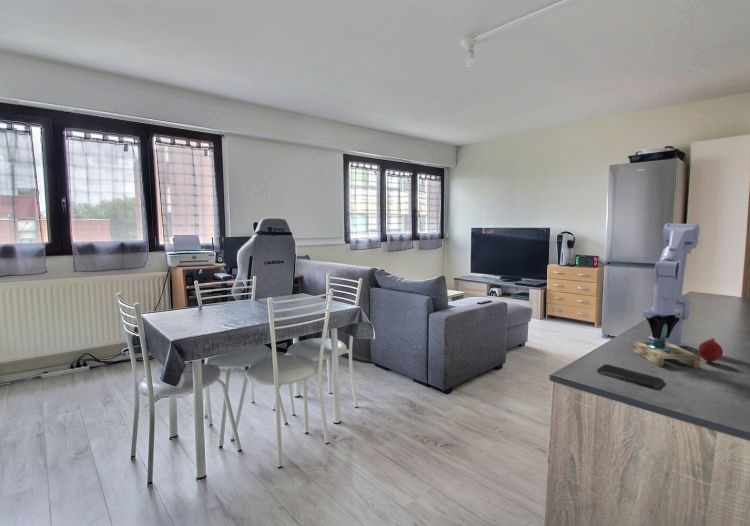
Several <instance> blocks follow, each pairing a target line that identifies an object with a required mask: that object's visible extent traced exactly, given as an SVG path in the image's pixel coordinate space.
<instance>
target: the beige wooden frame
mask: <svg viewBox="0 0 750 526" xmlns="http://www.w3.org/2000/svg"><path fill="white" fill-rule="evenodd" d="M653 342H654V341H642V340H641V341H640V340H632V344H631V352H633V351H634V352H633V353H635V354H636V353H637V355H638V354H639V355H638V356H640V355H641V356H640V357H642V358H643V357H644V358H643V359H645V358H646V359H645V360H647V359H648V360H649V361H648V360H647V361H648V362H650V361H651V362H650V363H652V362H653V363H652V364H654V365H655V364H656V365H655V366H657V365H658V366H657V367H664V363H665V360H667V359H669V360H678V361H680V362H682V363H683V364H686V365H688V366H689V367H691V366H692V368H693V367H694V369H700V364H701V356H700V355H698V354H695V353H692V352H691V351H688V350H686V349H684V348H682V347H681V346H676V345H674V344H671V343H669V342H666V343H665V346H667V347H669V348H670V354H668V353H666V352H664V351H662V350H660V349H654V348H652V347H650V346H648V344H653Z"/></svg>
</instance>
